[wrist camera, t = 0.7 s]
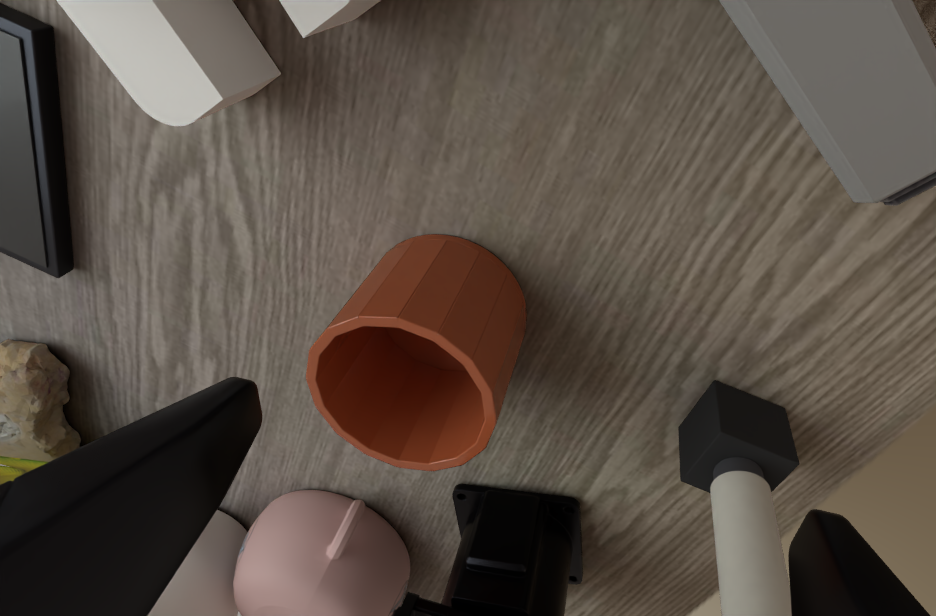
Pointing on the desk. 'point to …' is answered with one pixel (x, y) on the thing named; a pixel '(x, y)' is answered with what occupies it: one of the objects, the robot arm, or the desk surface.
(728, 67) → the desk surface
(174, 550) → the robot arm
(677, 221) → the desk surface
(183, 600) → the mug
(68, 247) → the tablet
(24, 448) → the stone
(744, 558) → the plain white cylinder
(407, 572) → the mug
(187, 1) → the u-slot mount
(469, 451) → the pen cup
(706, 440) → the plain black cube
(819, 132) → the grey aluminium rail
